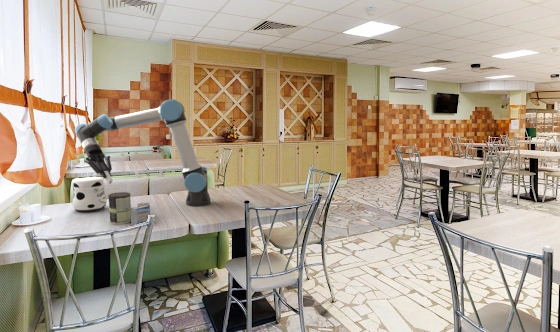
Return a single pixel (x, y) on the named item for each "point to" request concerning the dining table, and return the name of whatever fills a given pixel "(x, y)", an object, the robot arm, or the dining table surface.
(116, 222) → the coffee can
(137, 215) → the medicine box
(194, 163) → the robot arm
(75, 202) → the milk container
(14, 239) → the dining table surface
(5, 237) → the dining table surface
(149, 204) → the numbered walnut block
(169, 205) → the dining table surface
